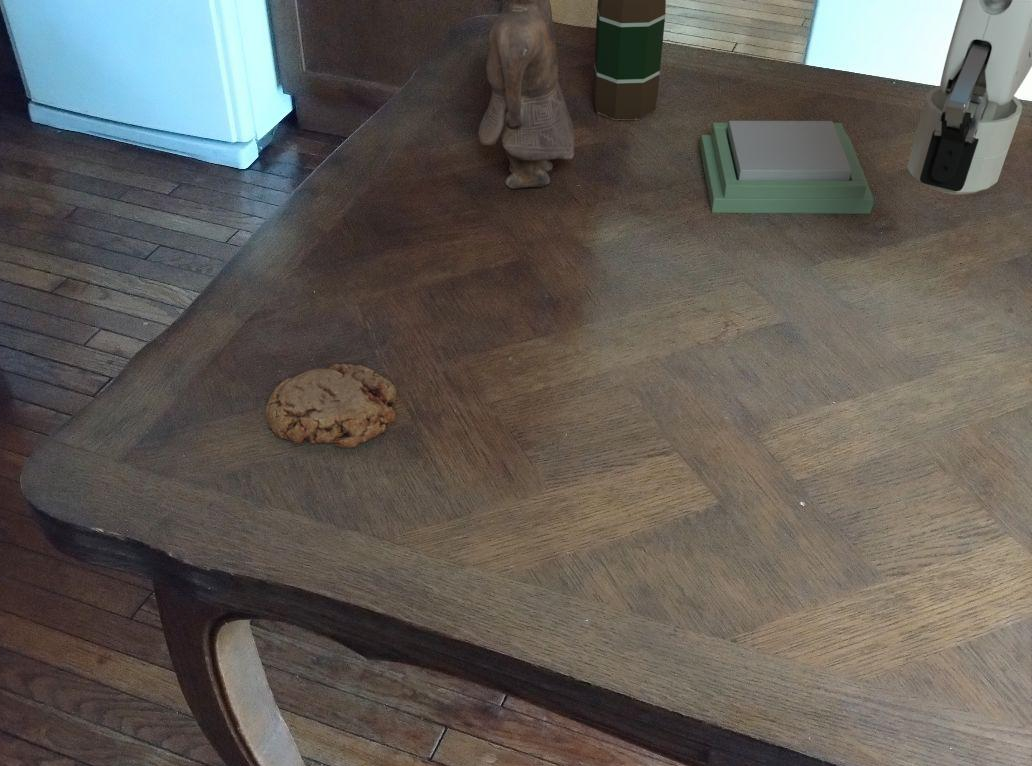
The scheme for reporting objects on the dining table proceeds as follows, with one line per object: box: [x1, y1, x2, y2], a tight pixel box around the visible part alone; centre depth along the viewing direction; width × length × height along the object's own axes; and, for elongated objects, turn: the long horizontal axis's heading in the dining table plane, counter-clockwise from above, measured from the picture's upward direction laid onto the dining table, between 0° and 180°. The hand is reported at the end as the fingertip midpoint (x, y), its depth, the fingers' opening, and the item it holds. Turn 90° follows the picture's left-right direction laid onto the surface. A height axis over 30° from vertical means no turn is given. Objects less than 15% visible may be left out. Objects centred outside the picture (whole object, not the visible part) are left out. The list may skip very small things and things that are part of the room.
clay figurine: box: [477, 0, 575, 190], centre depth 105 cm, size 13×10×25 cm
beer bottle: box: [592, 0, 667, 122], centre depth 116 cm, size 8×8×24 cm
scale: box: [699, 122, 875, 215], centre depth 112 cm, size 16×14×3 cm
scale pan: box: [727, 120, 851, 181], centre depth 110 cm, size 11×11×1 cm
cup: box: [906, 85, 1023, 195], centre depth 82 cm, size 7×7×6 cm
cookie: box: [265, 363, 397, 448], centre depth 86 cm, size 10×11×3 cm
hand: (955, 162), depth 83 cm, fingers closed on cup, 7 cm apart
